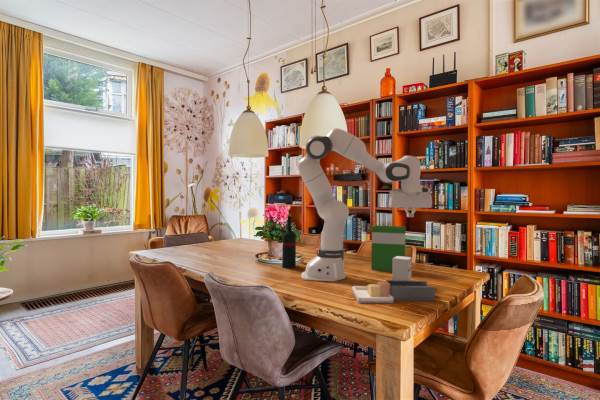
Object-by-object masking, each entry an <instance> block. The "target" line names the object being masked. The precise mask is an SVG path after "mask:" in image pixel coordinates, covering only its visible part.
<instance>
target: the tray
mask: <svg viewBox="0 0 600 400" xmlns="http://www.w3.org/2000/svg"><path fill="white" fill-rule="evenodd" d="M351 289H352V290H351V291H352V293H353V294H354V297H355V299H356V300H357V303H358V304H360V303H361V304H394V302H395V301H394V298H393V297H392V295H391V294H380V296H379V297H370V296H369V295H368V285H352V287H351Z"/></svg>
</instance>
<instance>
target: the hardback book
mask: <svg viewBox="0 0 600 400" xmlns="http://www.w3.org/2000/svg"><path fill="white" fill-rule="evenodd" d="M396 256H403V257H406V226H400V225H399V226H395V225H372V226H371V265H370V266H371V268H370V269H371V271H382V272H383V271H384V272H392V263H393V258H394V257H396Z"/></svg>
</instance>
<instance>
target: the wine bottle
mask: <svg viewBox="0 0 600 400" xmlns="http://www.w3.org/2000/svg"><path fill="white" fill-rule="evenodd" d="M286 219H287V222H286V223H287V224H286V225H287V230H286V231H284V233H283V234H282V249H281V250H282V254H281V256H282V257H281V262H282V263H281V264H282V265H281V266H282V268H283V269H289V270H291V269H296V267H297V265H296V263H297V262H296V261H297V260H296V258H297V257H296V256H297V253H296V251H297V240H296V239H297V238H296V237H297V236H296V233H295V232H294V231H293V230H292V214H291V213H290V214H289V213H287V218H286Z"/></svg>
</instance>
